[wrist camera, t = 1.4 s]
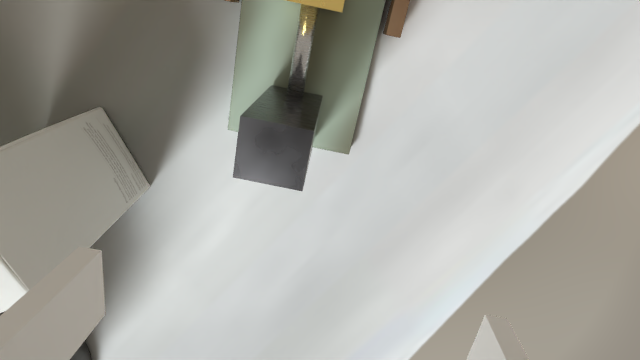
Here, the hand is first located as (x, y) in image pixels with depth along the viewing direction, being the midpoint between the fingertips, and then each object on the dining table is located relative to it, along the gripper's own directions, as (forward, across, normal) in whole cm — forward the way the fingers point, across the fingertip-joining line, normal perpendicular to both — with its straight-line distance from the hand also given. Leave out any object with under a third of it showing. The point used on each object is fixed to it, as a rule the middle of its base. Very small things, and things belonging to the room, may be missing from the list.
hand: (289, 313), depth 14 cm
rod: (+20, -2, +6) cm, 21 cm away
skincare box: (+21, -19, -5) cm, 29 cm away
